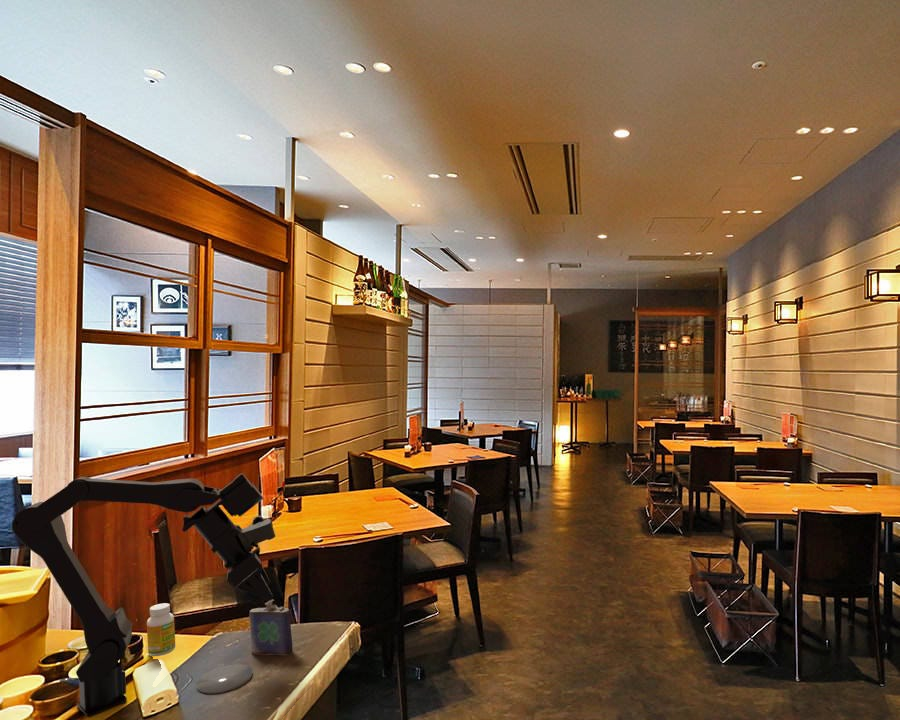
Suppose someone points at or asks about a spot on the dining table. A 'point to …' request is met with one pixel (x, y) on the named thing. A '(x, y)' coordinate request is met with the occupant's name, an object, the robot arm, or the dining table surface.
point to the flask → (271, 630)
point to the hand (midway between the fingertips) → (269, 591)
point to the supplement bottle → (160, 630)
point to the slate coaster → (224, 679)
